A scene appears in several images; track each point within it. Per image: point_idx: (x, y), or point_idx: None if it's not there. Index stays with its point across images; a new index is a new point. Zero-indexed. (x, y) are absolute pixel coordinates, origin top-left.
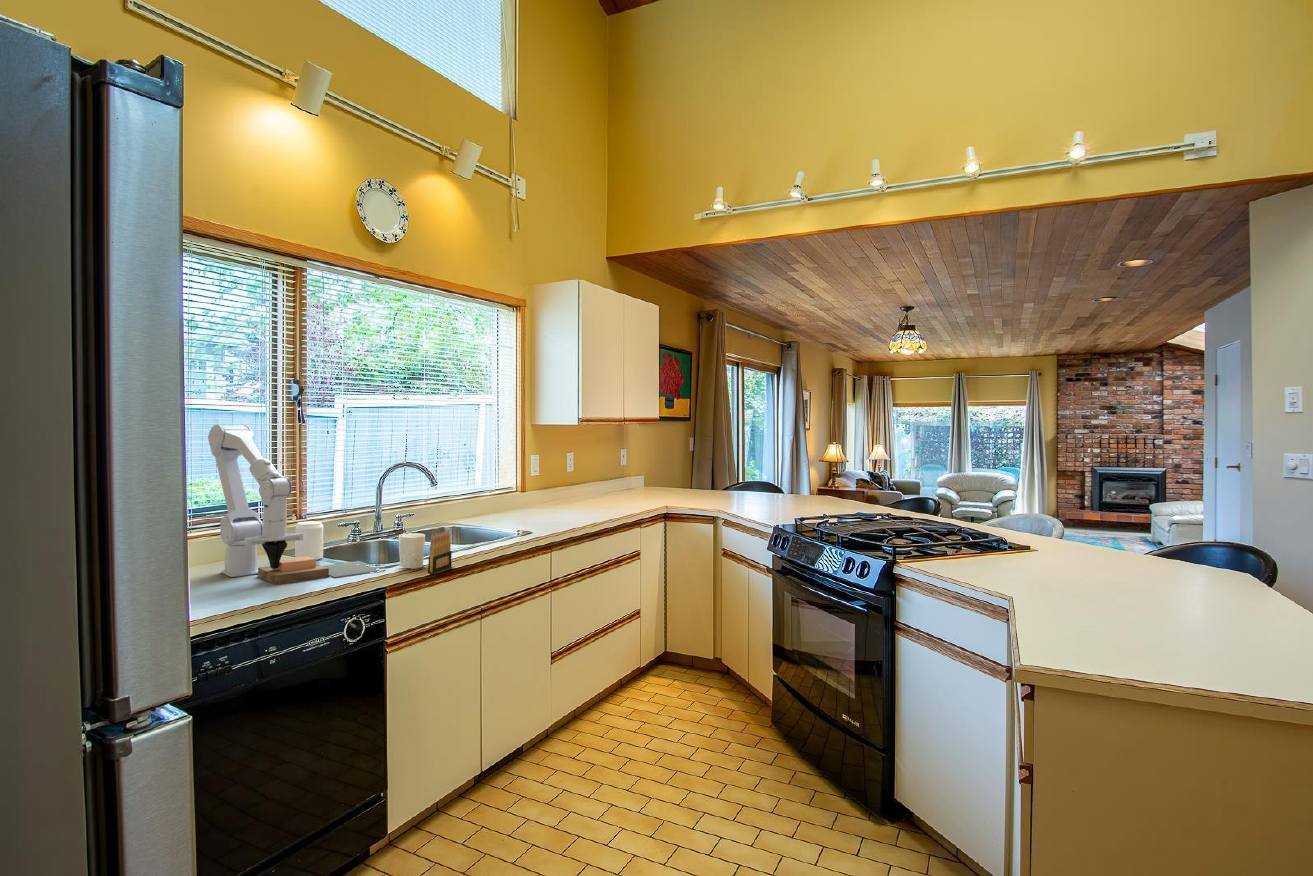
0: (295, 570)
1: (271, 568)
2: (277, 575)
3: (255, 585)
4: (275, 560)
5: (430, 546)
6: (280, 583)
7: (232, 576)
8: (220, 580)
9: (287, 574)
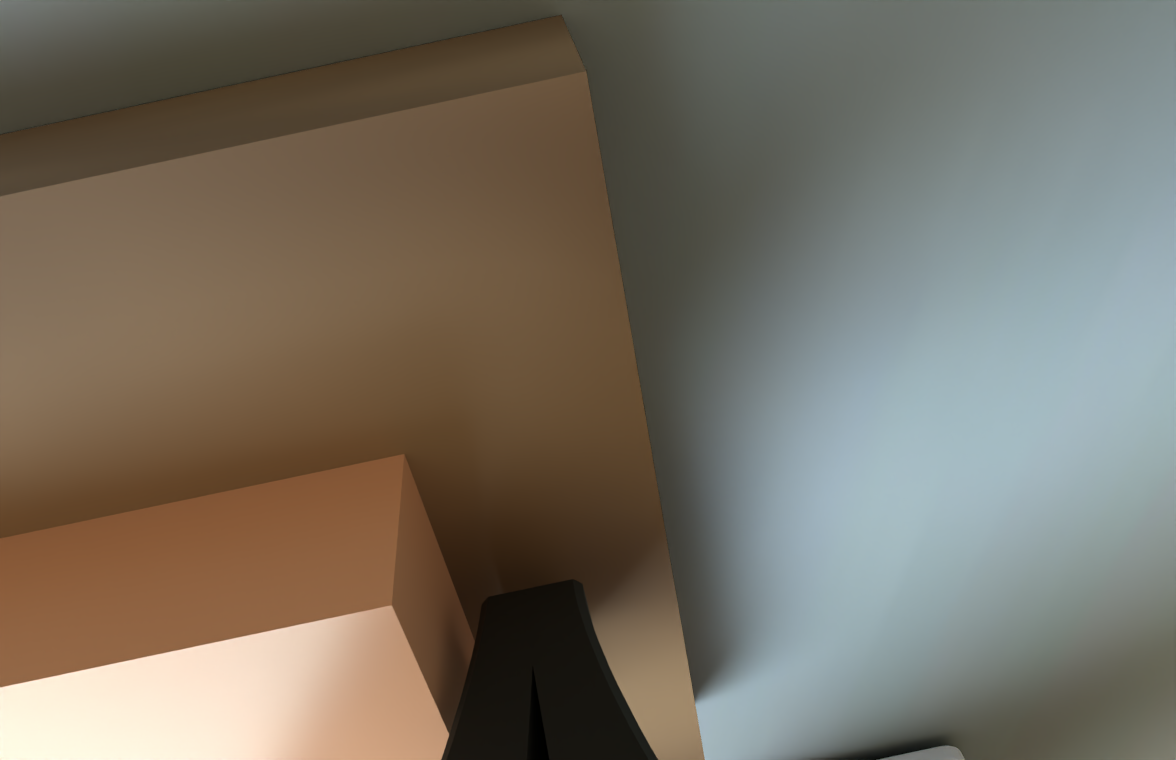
0: (118, 464)
1: None
2: (548, 81)
3: (889, 173)
4: (556, 727)
5: None
6: (466, 39)
7: (945, 751)
8: (1088, 667)
9: (290, 132)
